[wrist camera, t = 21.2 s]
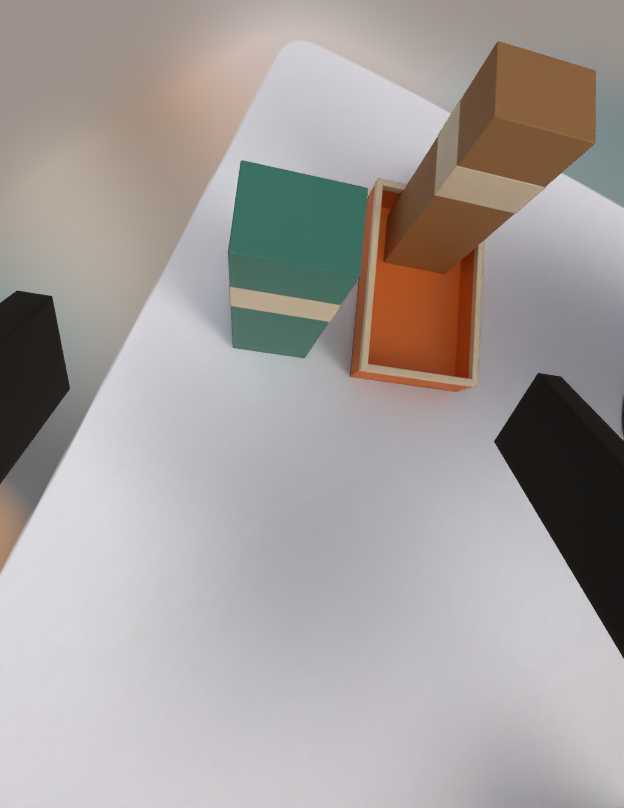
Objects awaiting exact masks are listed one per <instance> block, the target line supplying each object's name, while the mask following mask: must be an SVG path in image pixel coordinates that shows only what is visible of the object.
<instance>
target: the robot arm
mask: <svg viewBox="0 0 624 808" xmlns="http://www.w3.org/2000/svg"><path fill="white" fill-rule="evenodd" d="M69 389H70V386H69V381H68V376H67V371H66V366H65V361H64V356H63V350H62V345H61V340H60V334H59V329H58V324H57V319H56V314H55V308H54V303H53V298H52V296H48V295H41V294H34V293H29V292H22V291H16V292H15V293H13V294H12V295H11V296H9V297H8V298H6V299H5V300H4V301H2V302H1V303H0V484H1V482H2V481H3V479H4V478H5V477H6V475H7V474H8V473H9V471H10V470H11V468H12V467H13V466H14V464H15V463H16V462H17V460H18V459H19V458H20V456H21V455H22V454H23V452H24V451H25V449H26V448H27V447H28V445H29V444H30V443H31V441H32V440H33V438H34V437H35V436H36V434H37V433H38V432H39V430H40V429H41V428H42V426H43V425H44V423H45V422H46V421H47V419H48V418H49V417H50V415H51V414H52V413H53V411H54V410H55V408H56V407H57V406H58V404H59V403H60V401H61V400H62V399H63V398H64V396H65V395H66V393H67V392H68V391H69ZM494 442H495V444H496V446H497V447H498V449H499V451H500V452H501V454H502V456H503V457H504V459H505V461H506V462H507V464H508V466H509V467H510V469H511V471H512V472H513V474H514V476H515V477H516V479H517V481H518V482H519V484H520V486H521V487H522V489H523V491H524V492H525V494H526V496H527V497H528V499H529V501H530V502H531V504H532V506H533V508H534V509H535V511H536V513H537V514H538V516H539V518H540V519H541V521H542V523H543V524H544V526H545V528H546V529H547V531H548V533H549V534H550V536H551V538H552V539H553V541H554V543H555V544H556V546H557V548H558V549H559V551H560V553H561V554H562V556H563V558H564V559H565V561H566V563H567V564H568V566H569V568H570V569H571V571H572V573H573V574H574V576H575V578H576V579H577V581H578V583H579V584H580V586H581V588H582V589H583V591H584V593H585V594H586V596H587V598H588V600H589V601H590V603H591V605H592V606H593V608H594V610H595V611H596V613H597V615H598V616H599V618H600V620H601V621H602V623H603V625H604V626H605V628H606V630H607V631H608V633H609V635H610V636H611V638H612V640H613V641H614V643H615V645H616V646H617V648H618V650H619V651H620V653H621V655H622V656H623V658H624V441H623V440H622V439H621V438H620V437H619V436H618V435H617V434H616V433H615V432H614V431H613V430H612V429H611V428H610V427H609V425H608V424H607V423H606V422H605V421H604V420H603V419H602V418H601V417H600V416H599V415H598V414H597V413H596V412H595V411H594V410H593V409H592V408H591V407H590V406H589V405H588V404H587V403H586V402H585V401H584V400H583V399H582V398H581V397H580V396H579V395H578V394H577V393H576V392H575V390H574V389H573V388H572V387H571V386H570V385H569V384H568V383H567V382H566V381H565V380H564V379H563V378H562V377H560V376H554V375H548V374H541V373H538V374H537V375H536V377H535V378H534V380H533V382H532V383H531V385H530V386H529V388H528V389H527V391H526V393H525V394H524V396H523V397H522V399H521V400H520V402H519V403H518V405H517V407H516V408H515V410H514V411H513V413H512V414H511V416H510V417H509V419H508V421H507V422H506V424H505V425H504V427H503V428H502V430H501V432H500V433H499V435H498V436H497V438H496V439H495V441H494Z"/></svg>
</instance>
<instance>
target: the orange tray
mask: <svg viewBox="0 0 624 808" xmlns="http://www.w3.org/2000/svg"><path fill="white" fill-rule="evenodd" d="M406 186H407V185H405V184H401V183H396V182H392V181H388V180H383V179H379V178H377V180H376V182H375V185H374V187H373V189H372V191H371V193H370V195H369V197H368V199H367V206H366V217H365V229H364V240H363V251H362V262H361V274H360V277H359V284H358V296H357V307H356V318H355V329H354V340H353V351H352V362H351V373H350V377H356V378H363V379H370V380H377V381H384V382H391V383H398V384H405V385H412V386H419V387H426V388H433V389H440V390H447V391H454V392H458V391H461V390H465V389H468V388H472V387H476V386H478V365H479V342H480V319H481V297H482V274H483V252H484V241H483V242H481V243H480V244H479V245H478V246H477V247H476V248H474V249H473V250H472V251H471V252H470V253H469V254H468V255H466V256H465V257H464V258H463V259H462V260H461V261H460V262H458V263H457V264H456V265H455V266H454V267H453V268H451V269H450V270H449V271H448V272H447V273H446V274H442V273H437V272H432V271H427V270H421V269H416V268H411V267H406V266H401V265H395V264H390V263H385V262H384V251H385V239H386V227H387V216H388V215H389V213H390V212H391V210H392V208H393V207H394V205H395V204H396V202H397V200H398V199H399V197H400V196H401V194H402V193H403V191H404V189H405V188H406Z"/></svg>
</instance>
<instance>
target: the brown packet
mask: <svg viewBox="0 0 624 808" xmlns="http://www.w3.org/2000/svg"><path fill="white" fill-rule="evenodd" d="M595 101H596V72H595V71H594V70H591V69H588V68H585V67H582V66H578V65H575V64H572V63H569V62H565V61H562V60H559V59H555V58H552V57H549V56H545V55H542V54H539V53H536V52H532V51H529V50H525V49H522V48H519V47H516V46H512V45H509V44H506V43H502V42H499V41H498V42H497V43H496V45H495V46H494V48H493V49H492V51H491V53H490V54H489V56H488V58H487V59H486V61H485V62H484V64H483V65H482V67H481V69H480V70H479V72H478V73H477V75H476V76H475V78H474V80H473V81H472V83H471V85H470V86H469V88H468V89H467V91H466V92H465V94H464V96H463V97H462V99H461V100H460V101H459V102H458V104H457V105H456V107H455V109H454V110H453V112H452V113H451V115H450V117H449V118H448V120H447V121H446V123H445V124H444V126H443V128H442V129H441V131H440V132H439V134H438V137H437V138H436V140H435V142H434V143H433V145H432V146H431V148H430V150H429V151H428V153H427V154H426V156H425V158H424V159H423V161H422V162H421V164H420V165H419V167H418V169H417V170H416V172H415V173H414V175H413V177H412V178H411V180H410V181H409V183H408V185H407V186H406V188H405V189H404V191H403V193H402V194H401V196H400V197H399V199H398V200H397V202H396V204H395V205H394V207H393V208H392V210H391V212H390V213H389V215H388V216H387V227H386V239H385V251H384V262H385V263H390V264H395V265H401V266H406V267H411V268H416V269H421V270H427V271H432V272H437V273H442V274H446V273H447V272H448V271H449V270H450V269H451V268H453V267H454V266H455V265H456V264H457V263H458V262H460V261H461V260H462V259H463V258H464V257H465V256H466V255H468V254H469V253H470V252H471V251H472V250H473V249H474V248H476V247H477V246H478V245H479V244H480V243H481V242H483V241H484V240H485V239H486V238H487V237H488V236H489V235H491V234H492V233H493V232H494V231H495V230H496V229H497V228H499V227H500V226H501V225H502V224H503V223H504V222H506V221H507V220H508V219H509V218H510V217H511V216H512V215H514V214H515V213H517V212H518V211H519V210H520V209H522V208H523V207H524V206H525V205H526V204H527V203H528V202H530V201H531V200H532V199H533V198H534V197H535V196H537V195H538V194H539V193H540V192H541V191H542V190H543V189H545V187H546V186H547V185H548V184H549V183H550V182H551V181H553V180H554V179H555V178H556V177H557V176H558V175H560V174H561V173H562V172H563V171H564V170H565V169H566V168H568V167H569V166H570V165H571V164H572V163H573V162H574V161H576V160H577V159H578V158H579V157H580V156H581V155H583V154H584V153H585V152H586V151H587V150H588V149H589V148H591V147H592V146H593V145H594V144H595V139H596V135H595V134H596V133H595V132H596V129H595V128H596V102H595Z"/></svg>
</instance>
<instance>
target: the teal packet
mask: <svg viewBox="0 0 624 808" xmlns="http://www.w3.org/2000/svg"><path fill="white" fill-rule="evenodd" d="M367 195H368V188H365V187H361V186H356V185H351V184H347V183H342V182H338V181H333V180H329V179H324V178H320V177H315V176H311V175H306V174H302V173H297V172H293V171H288V170H284V169H279V168H274V167H270V166H265V165H261V164H256V163H252V162H247V161H243V160H242V161H241V163H240V170H239V178H238V185H237V192H236V199H235V206H234V213H233V221H232V228H231V235H230V242H229V249H228V259H229V279H230V284H229V292H230V306H231V319H232V339H233V348H238V349H245V350H252V351H259V352H266V353H273V354H280V355H287V356H294V357H301V358H305V356H306V355H307V353H308V352H309V350H310V349H311V348H312V346H313V345H314V343H315V342H316V340H317V339H318V337H319V336H320V334H321V333H322V331H323V330H324V329H325V327H326V326H327V324H328V323H329V322H330V321H331V319H332V318H333V317H334V315H335V314H336V312H337V311H338V309H339V308H340V306H341V304H342V302H343V301H344V299H345V298H346V296H347V295H348V293H349V292H350V291H351V289H352V288H353V286H354V285H355V283H356V282H357V280H358V279H359V277H360V274H361V262H362V251H363V240H364V229H365V217H366V206H367Z"/></svg>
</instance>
